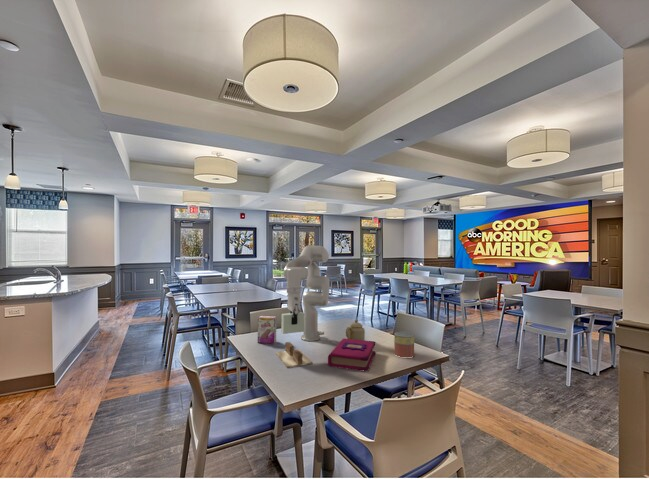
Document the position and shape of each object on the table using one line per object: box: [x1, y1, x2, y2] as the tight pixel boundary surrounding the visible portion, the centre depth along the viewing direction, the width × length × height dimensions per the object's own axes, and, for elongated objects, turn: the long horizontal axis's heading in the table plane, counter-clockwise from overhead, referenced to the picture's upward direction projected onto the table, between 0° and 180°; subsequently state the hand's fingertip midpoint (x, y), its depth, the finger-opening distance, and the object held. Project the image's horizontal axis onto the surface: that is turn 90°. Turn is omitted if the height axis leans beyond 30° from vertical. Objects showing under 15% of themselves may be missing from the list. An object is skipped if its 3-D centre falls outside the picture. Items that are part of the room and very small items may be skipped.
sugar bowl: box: [345, 318, 366, 341], centre depth 196 cm, size 15×11×15 cm
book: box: [327, 338, 376, 372], centre depth 167 cm, size 21×28×8 cm
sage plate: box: [280, 311, 304, 335], centre depth 167 cm, size 12×4×10 cm, turn 113°
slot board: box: [275, 341, 314, 369], centre depth 167 cm, size 14×22×6 cm, turn 24°
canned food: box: [393, 330, 415, 358], centre depth 174 cm, size 11×11×12 cm
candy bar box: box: [257, 315, 277, 344], centre depth 194 cm, size 11×5×16 cm, turn 84°
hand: (293, 322), depth 167 cm, fingers closed on sage plate, 4 cm apart
